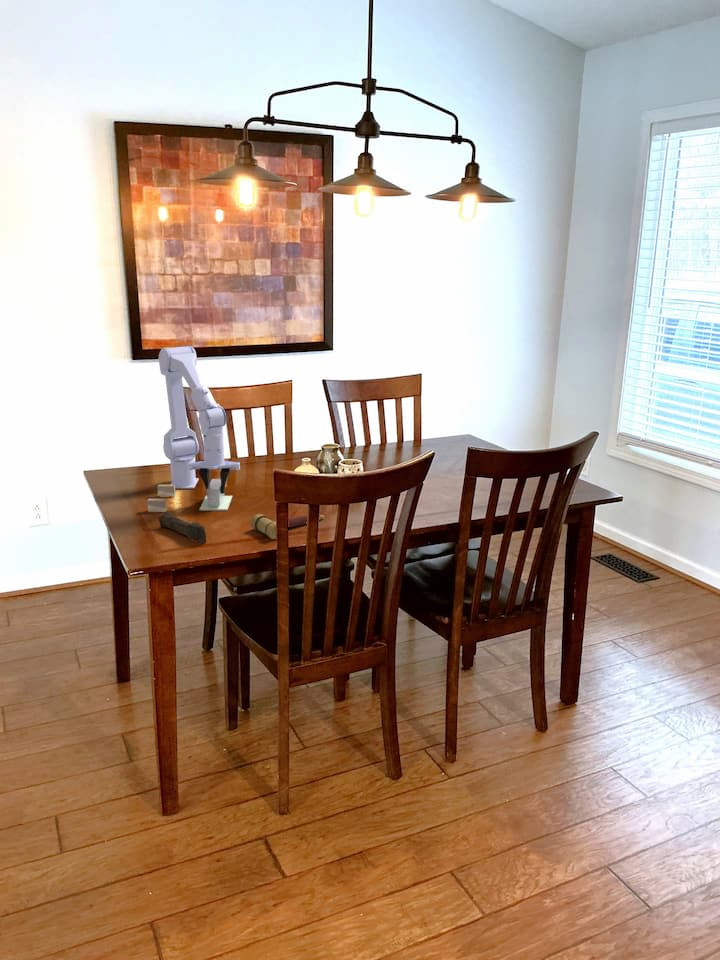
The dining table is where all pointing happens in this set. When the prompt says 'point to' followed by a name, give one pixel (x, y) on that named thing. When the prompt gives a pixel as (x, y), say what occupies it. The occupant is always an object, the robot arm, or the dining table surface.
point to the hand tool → (183, 527)
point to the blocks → (160, 504)
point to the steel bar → (214, 493)
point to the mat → (223, 506)
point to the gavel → (269, 526)
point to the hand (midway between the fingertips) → (215, 492)
